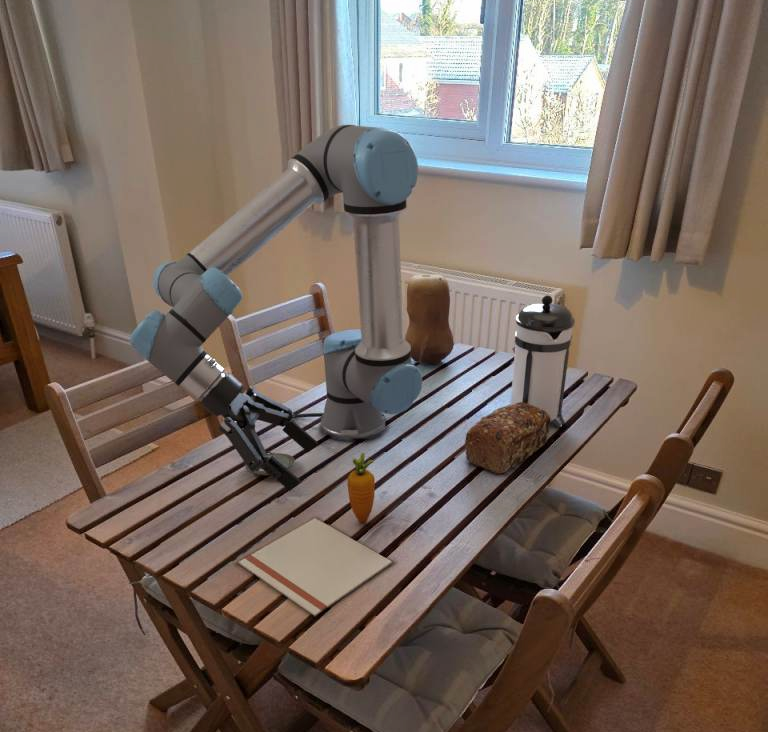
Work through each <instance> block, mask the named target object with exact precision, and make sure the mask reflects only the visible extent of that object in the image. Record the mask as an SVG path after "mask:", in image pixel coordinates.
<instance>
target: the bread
mask: <svg viewBox="0 0 768 732" xmlns="http://www.w3.org/2000/svg"><path fill="white" fill-rule="evenodd" d="M551 422H552V421H551V419H550V416H549V414H548V413H547V412H546V411H544V410H541V409H539V408H537V407H535V406H532V405H530V404H526V403H523V402H519V403H516V404H513V405H510V404H507V405H505V406H501V407H498V408H497V409H494V410H493V411H492V412H491V413H489V414H487V415H486V416H483V417H481V419H480V420H478V421H477V423H475V424H474V425H473V426H471V427H470V428H469V429H468V431H467V432H466V433H465V441H464V448H465V457H466V460H467V461H469V462H470V463H471V464H472V465H475V466H478V467H479V468H483V469H485V470H486V471H489V472H492V473H493V474H504V473H506V472H507V471H508V470H509V469H511V468H513V467H516V466H517V465H519V464H520V463H522V462H523V461H525V460H527V459H528V458H529V457H531V456H533V454H534V453H536V452H537V451H538V450H540V448H542V447H543V446H545V444H547V441H548V436H549V435H550V428H551Z"/></svg>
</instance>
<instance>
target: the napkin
mask: <svg viewBox="0 0 768 732" xmlns="http://www.w3.org/2000/svg"><path fill="white" fill-rule="evenodd" d="M238 564H239V565H240V566H242V567H243V568H244V569H246V570H248V571H249V572H250V573H252V574H253V575H254V576H256V577H257V578H259V579H260V580H261V581H263V582H265V583H266V584H267V585H269V586H271V587H272V588H273V589H275V590H276V591H278V592H279V593H280V594H281V595H283V596H285V597H286V598H288V599H289V600H290V601H292V602H293V603H294V604H297V605H298V606H299V607H301V608H302V609H304V610H305V611H307V612H308V613H309V614H311V615H312V616H313V617H317V616H318V615H320V613H322V612H324V611H325V610H327V609H328V608H329V607H331V606H332V605H334V604H335V603H336V602H338V601H340V600H341V599H342V598H344V597H346V596H347V595H348V594H350V593H351V592H352V591H354V590H355V589H356V588H357V589H358V587H361V586H362V585H363V584H364V583H365V582H367V581H368V580H370V579H371V578H373V577H374V576H375V575H377V574H379V573H380V572H382V570H384V569H386V568H387V567H389V566H390V565H391V564H393V562H392V560H390V559H388V558H387V557H384V556H383V555H381V554H379V553H378V552H376V551H374V550H372V549H371V548H369V547H367V546H365V545H364V544H362V543H360V542H358V541H357V540H355V539H353V538H351V537H350V536H348V535H347V534H344V533H342V532H341V531H338V530H337V529H336V528H334V527H332V526H330V525H329V524H326V523H325V522H324V521H321V520H319V518H316V517H314V518H313V519H311V520H309V521H307V522H305V523H303V524H302V525H300V526H299V527H297V528H295V529H293V530H291V531H290V532H288V533H286V534H285V535H283V536H281V537H279V538H278V539H276V540H274V541H272V542H270V543H269V544H267V545H265V546H263V547H262V548H260V549H259V550H257V551H255V552H253V553H251V554H250V555H248V556H247V557H244V558H243V559H241V560H239V561H238Z"/></svg>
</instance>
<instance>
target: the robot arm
mask: <svg viewBox="0 0 768 732" xmlns="http://www.w3.org/2000/svg"><path fill="white" fill-rule="evenodd" d="M418 176H419V164H418V158H417V155H416V152H415V150H414V148H413V146H412V143H410V141H408V140H407V138H406V137H404V136H403V135H402V134H401V133H399V132H397V131H394V130H390V129H388V128H384V127H381V126H379V127H378V126H365V125H364V126H363V125H355V124H341V125H338V126H337V125H336V126H334V127H332V128H330V129H328V130H326V131H324V132H323V133H321V134H319V136H317V137H316V138H315V139H313V140H312V141H310V142H309V143H307V145H305V146H304V147H303V148H302V149H301V150H299V151H298V152H297V153H296V154H295V155H293V156H292V158H290V159H289V160H288V162H287V169H286V170H285V171H284V172H283V173H281V174H280V175H279V176H278V177H277V178H275V179H274V180H273V181H272V182H271V183H269V184H268V185H266V187H265V188H264V189H262V190H261V191H260V192H258V194H257V195H255V196H254V197H252V199H250V201H248V202H247V203H246V204H245V205H243V206H242V207H241V208H240V209H238V211H236V212H235V213H234V214H233V215H231V216H230V217H229V218H228V219H226V221H225V222H223V223H222V224H221V225H220V226H218V227H217V228H216V229H215V230H214V231H212V232H211V233H210V234H209V235H208V236H207V237H205V238H204V239H203V240H202V241H201V242H200V243H198V244H197V245H196V246H195V247H194V248H193V249H191V250H190V251H189V252H188V253H186V254H185V255H183V257H182V258H180V259H179V260H178V261H168V262H165V263H163V264H162V263H161V264H160V265H159V266H158V268H157V269H156V270H155V272H154V274H153V279H152V280H153V281H152V282H153V288H154V290H155V293H156V294H157V296H159V298H161V300H162V301H163V302H164V303H165V304H167V305H168V306H170V307H172V308H171V309H170V310H169V311H168V312H167V313H166V314H164V313H163V312H160V311H159V310H153V311H150V312H149V313H148V314H147V315H146V317H144V319H142V320H141V321H140V322H139V323H138V325H137V326H136V327H135V329H134V330H133V331H132V333H131V334H130V336H129V342H130V345H131V347H132V348H133V349H134V350H135V351H137V352H138V354H140V355H141V356H142V357H143V358H144V359H145V360H146V361H147V362H148V363H149V364H151V366H153V367H154V368H156V369H157V370H158V371H159V372H161V374H163V375H164V376H165V377H166V378H168V379H169V380H170V381H172V382H173V384H175V385H176V386H178V388H179V389H181V390H182V391H183V392H184V393H185V394H187V395H188V396H189V397H190V398H191V399H192V400H193V401H194V402H198V401H200V406H201V407H202V408H203V409H205V410H206V411H207V413H209V414H211V416H212V417H214V418H218V417H219V416H222V417H223V418H224V419H223V420H222V421H221V422H220V424H219V425H218V429H219V430H220V432H221V433H222V434H224V435H225V436H226V437H227V439H228V440H229V442H230V443H231V445H232V446H233V447H234V449H235V450H236V452H237V453H238V455H239V457H240V458H241V459H242V461H243V462H244V463H245V466H246V465H247V466H248V468H249V469H250V470H251V471H252V472H254V471H258V470H259V469H260V468H261V469H263V470H264V471H265V472H266V473H268V474H269V475H268V476H270V477H271V478H272V479H274V480H275V481H277V482H278V483H279V484H281V485H282V486H283V487H284V488H285V489H286V490H287V491H289V492H291V491H292V490H293V489H294V488H295V487H297V486H298V485H299V484H300V482H301V479H300V478H299V477H297V476H296V475H295V474H294V473H293V472H292V471H290V470H289V469H287V468H286V467H284V466H283V465H282V464H281V463H280V462H279V461H277V460H276V459H275V458H274V457H273V456H272V457H270V458H269V457H268V455H267V454H268V453H266V449H265V447H264V445H263V443H262V440H261V439H260V437H259V434H258V433H257V431H256V422H257V421H260V422H264V423H266V424H267V423H268V424H272V425H275V426H278V427H282V432H284V433H285V434H286V435H287V436H288V437H289V438H291V439H292V441H294V442H295V443H296V444H297V445H299V446H300V447H301V448H302V449H303V450H304V451H306V452H307V453H310V452H311V451H312V450H313V449H314V448H315V447H316V446H318V443H319V442H318V440H316V439H315V438H313V436H312V435H310V434H309V433H308V432H307V431H305V430H304V429H303V428H302V427H301V426H300V425H299V424H298V423H296V422H295V421H294V420H293V419H301V418H317V417H318V418H321V419H320V425H321V431H322V433H323V434H324V435H325V436H327V437H328V438H331V439H333V440H338V441H344V442H358V441H360V442H361V441H365V440H368V439H372V438H374V437H377V436H379V435H380V434H381V433H382V432H383V431H384V430H385V429H386V415H391V416H392V415H397V414H400V413H403V412H405V411H406V410H408V409H409V408H410V407H412V405H413V404H414V402H415V401H416V400H418V398H419V395H420V393H421V391H422V388H423V375H422V372H421V371H420V370H419V368H418V367H417V366H416V365H415V364H412V358H411V346H410V344H409V343H408V342H407V341H406V340H405V338H404V325H403V324H404V323H403V322H404V319H403V298H402V297H403V296H402V294H403V293H402V291H403V290H402V268H401V266H402V265H401V263H402V262H401V240H400V238H401V237H400V217H401V216H402V215H403V213H405V211H406V210H407V203H408V202H407V199H408V198H409V197H410V196H411V194H412V193H413V189H414V188H415V187H416V184H417V182H418ZM337 194H342V200H343V201H342V202H343V212H344V214H345V215H346V216H348V217H349V218H350V219H351V220H352V224H353V238H354V252H355V253H354V254H355V266H356V268H355V269H356V281H357V295H358V296H357V297H358V311H359V324H360V326H359V327H360V329H347V330H341V331H337V332H334V333H331V334H329V335H328V336H327V337H325V338H324V340H323V347H322V348H323V351H322V355H323V361H324V362H323V363H324V375H325V387H326V388H325V390H326V401H325V404H324V409H323V412H313V413H311V412H310V413H296V414H295V413H294V412H293V411H292V409H291V408H290V407H289V406H286V405H284V404H282V403H281V402H278V401H276V400H274V399H272V398H271V397H269V396H266V395H265V394H262V393H261V392H259V391H258V390H257V389H255V388H254V387H253V386H251V385H250V386H248V387H247V389H246V390H244V392H242V390H243V389H244V384H243V383H242V382H240V381H239V379H238V378H236V376H234V375H233V374H231V373H229V372H227V373H225V368H224V367H223V366H221V365H220V364H219V363H218V362H217V361H216V359H215V358H213V357H211V356H210V355H209V354H208V352H206V351H205V350H203V349H202V345H203V344H204V343H205V342H206V341H207V340H208V339H209V338H210V337H211V335H213V334H214V333H215V332H216V330H218V328H219V327H220V326H221V325H222V324H223V323H224V321H225V320H226V319H227V318H228V317H229V316H230V315H232V314H233V313H234V310H235V309H236V307H237V306H238V305H239V304H240V302H241V301H242V299H243V293H242V291H241V289H240V288H239V286H238V285H237V284H236V283H235V282H234V281H233V280H231V278H230V277H229V276H230V275H231V274H232V273H233V272H234V271H236V270H237V269H238V268H239V267H241V266H242V264H244V263H245V262H246V261H248V260H249V259H250V258H251V257H253V255H255V253H257V252H258V251H259V250H260V249H262V248H263V247H264V246H265V245H266V244H267V243H268V242H270V241H271V240H272V239H274V237H276V236H277V235H278V234H279V233H281V232H282V231H283V230H284V229H285V228H287V226H288V225H290V224H291V223H292V222H293V221H295V220H296V219H297V218H298V217H299V216H301V215H302V214H303V213H304V212H305V211H307V209H309V208H310V207H311V206H313V205H319V206H320V205H322V204H324V202H326V201H327V200H328V199H329V198H331V197H333V196H335V195H337ZM252 461H253V462H252Z"/></svg>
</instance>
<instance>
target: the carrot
mask: <svg viewBox="0 0 768 732" xmlns="http://www.w3.org/2000/svg"><path fill="white" fill-rule="evenodd" d="M365 457H366V452H361V453H360V457H359V458H357V457H353V458H352V460H351V461H352V463H353V465H354V466H355V470H352V471H350V474H349V475H348V476H347V480H346V482H347V491H348V492H347V493H348V498H349V503H350V507H351V511H352V512H353V515H354V517H355V518H356V520H357V521H358V523H359V524H360V525H362V526H363V525H365V524H366V523H367V522H368V520H369V518H370V515H371V513H372V510H373V507H374V506H373V505H374V501H375V490H376V489H375V487H376V486H375V483H376V482H375V481H376V480H375V476H374V474H373V473H372V472H371V471H370V470H368V469H367V468H368V467H369V466H370V465H371V464H373V463H374V462H375V461H374V460H373V459H369V460H368V461H367V462H365Z"/></svg>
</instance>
